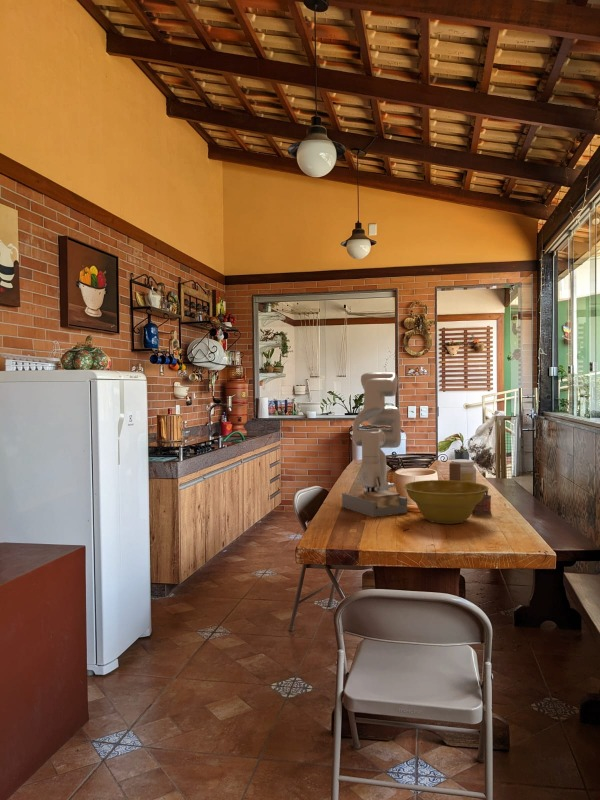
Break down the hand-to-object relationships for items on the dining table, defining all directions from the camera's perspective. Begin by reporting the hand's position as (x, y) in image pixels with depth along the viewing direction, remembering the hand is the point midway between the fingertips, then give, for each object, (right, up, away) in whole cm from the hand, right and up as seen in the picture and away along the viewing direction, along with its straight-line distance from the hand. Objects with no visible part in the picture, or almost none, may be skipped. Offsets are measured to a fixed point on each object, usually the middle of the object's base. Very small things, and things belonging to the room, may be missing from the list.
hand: (371, 502), depth 243 cm
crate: (+4, -1, -7) cm, 8 cm away
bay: (+1, -3, -1) cm, 3 cm away
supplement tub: (+47, -2, +27) cm, 54 cm away
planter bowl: (+26, -3, -21) cm, 34 cm away
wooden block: (+41, -2, +9) cm, 42 cm away
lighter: (+44, -3, -10) cm, 45 cm away
